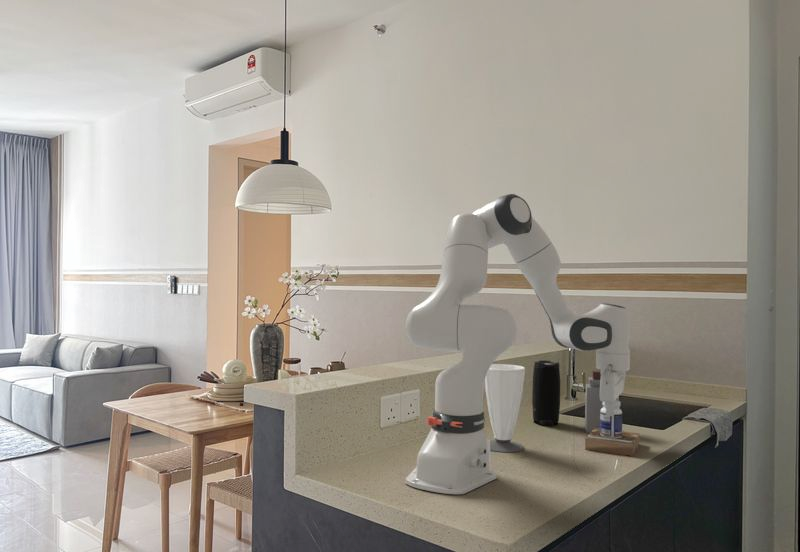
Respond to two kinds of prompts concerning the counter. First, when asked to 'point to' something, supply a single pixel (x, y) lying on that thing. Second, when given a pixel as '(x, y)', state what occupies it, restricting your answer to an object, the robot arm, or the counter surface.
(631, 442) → the jig
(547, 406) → the portable speaker
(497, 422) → the cup
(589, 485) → the counter surface
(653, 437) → the counter surface
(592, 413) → the perfume bottle
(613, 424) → the pill bottle
